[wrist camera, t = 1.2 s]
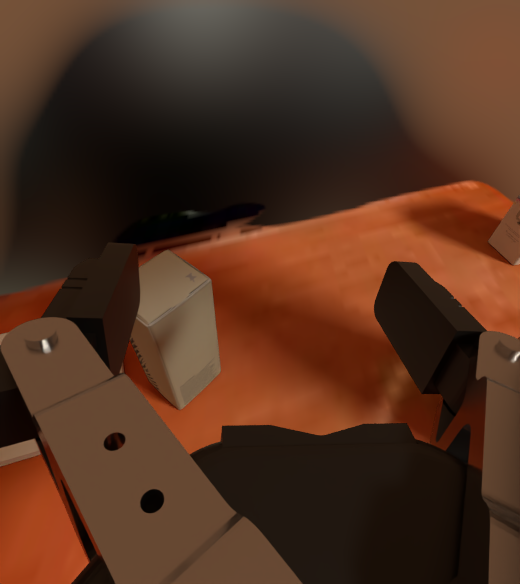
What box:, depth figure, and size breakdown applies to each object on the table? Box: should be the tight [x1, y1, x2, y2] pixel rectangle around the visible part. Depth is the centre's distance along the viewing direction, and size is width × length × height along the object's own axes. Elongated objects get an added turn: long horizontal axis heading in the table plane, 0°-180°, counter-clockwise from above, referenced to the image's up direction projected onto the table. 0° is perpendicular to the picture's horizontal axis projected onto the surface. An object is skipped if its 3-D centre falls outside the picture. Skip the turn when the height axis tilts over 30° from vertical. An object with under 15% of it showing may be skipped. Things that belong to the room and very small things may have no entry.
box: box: [130, 250, 221, 410], centre depth 27 cm, size 5×4×13 cm
